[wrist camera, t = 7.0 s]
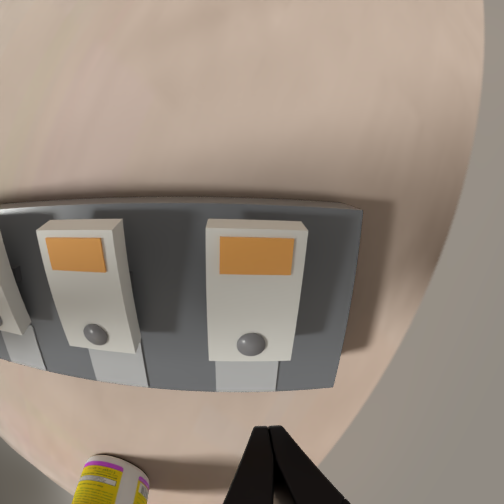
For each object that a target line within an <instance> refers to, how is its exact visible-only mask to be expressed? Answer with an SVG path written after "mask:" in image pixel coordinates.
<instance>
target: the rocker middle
mask: <svg viewBox="0 0 504 504" xmlns="http://www.w3.org/2000/svg"><path fill="white" fill-rule="evenodd" d="M36 233H37V238H38V243H39V247H40V252H41V256H42V260H43V264H44V268H45V272H46V276H47V279H48V283H49V286H50V290H51V293H52V296H53V300H54V303H55V306H56V309H57V312H58V315H59V318H60V321H61V323H62V326H63V329H64V332H65V334H66V337H67V340H68V342H69V345H70V346H75V347H82V348H89V349H96V350H104V351H113V352H121V353H131V354H136V352H137V349H138V346H139V343H140V340H141V333H140V328H139V324H138V319H137V314H136V308H135V303H134V298H133V292H132V286H131V280H130V274H129V267H128V260H127V253H126V245H125V237H124V228H123V219H67V220H49V221H48V222H47V223H45V224H44V225H42V226H41V227H40V228H38V229H37V230H36Z"/></svg>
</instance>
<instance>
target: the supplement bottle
mask: <svg viewBox="0 0 504 504" xmlns="http://www.w3.org/2000/svg"><path fill="white" fill-rule="evenodd" d="M148 493H149V479H148V477H147V476H146V474H145V473H144V472H143V471H142V470H140V469H139V468H137V467H136V466H134V465H132V464H131V463H129V462H127V461H124V460H122V459H119V458H116V457H113V456H107V455H95V456H92V457H90V458H89V459H88V460H87V462H86V464H85V466H84V469H83V472H82V475H81V477H80V480H79V483H78V486H77V489H76V492H75V495H74V498H73V501H72V504H147V499H148Z"/></svg>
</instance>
